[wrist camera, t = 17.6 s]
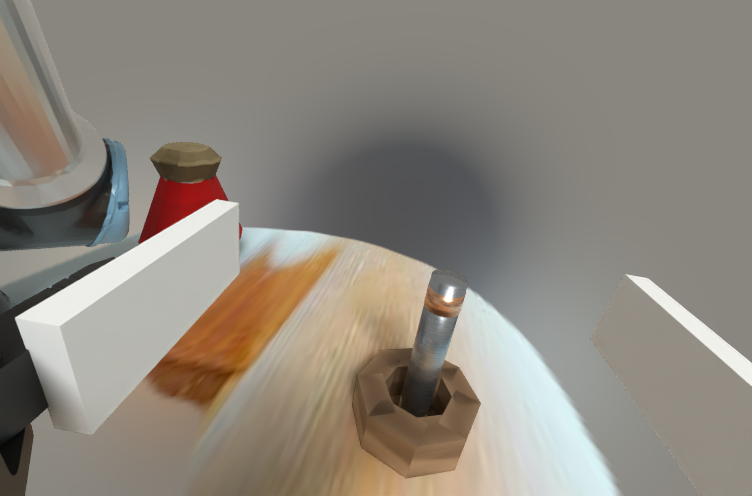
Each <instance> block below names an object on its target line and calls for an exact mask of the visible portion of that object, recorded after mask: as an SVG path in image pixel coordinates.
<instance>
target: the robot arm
mask: <svg viewBox="0 0 752 496" xmlns="http://www.w3.org/2000/svg"><path fill="white" fill-rule="evenodd" d="M128 202H129V186H128V170H127V159H126V151H125V149H124V146H123V145H122V144H121V143H119V142H117V141H111V140H109V139H106V138H101V136H100V134H99V133H98V131H97V130H96V129H95V128H94V127H93V126H92V125H91V124H90V123H89V122H88V121H86V120H85V119H84V118H83V117H81V116H79V115H78V114H76V113H74V112H73V111H72V109H71V107H70V104H69V101H68V99H67V96H66V94H65V91H64V89H63V86H62V83H61V80H60V78H59V75H58V73H57V70H56V67H55V64H54V62H53V60H52V57H51V54H50V51H49V49H48V46H47V43H46V41H45V38H44V35H43V33H42V30H41V28H40V25H39V22H38V20H37V17H36V14H35V12H34V9H33V7H32V4H31V1H30V0H0V251H11V250H25V249H40V248H54V247H69V246H82V245H85V246H87V247H92V246H95V245H97V244H104V243H113V242H118V241H121V240H122V239H124V238H125V237H126V236H127V234H128V231H129V204H128ZM239 273H240V264H239V204H238V203H233V202H229V201H223V200H218V199H216V200H214V201H213V202H211V203H209V204H208V205H206V206H204V207H203V208H201V209H199V210H197V211H196V212H194V213H192V214H191V215H189V216H187V217H185V218H184V219H182V220H180V221H179V222H177V223H175V224H174V225H172V226H170V227H168V228H167V229H165V230H163V231H162V232H160V233H158V234H157V235H155V236H153V237H151V238H150V239H148V240H146V241H145V242H143V243H141V244H139V245H138V246H136V247H134V248H133V249H131V250H129V251H128V252H126V253H124V254H122V255H121V256H119V257H117V258H114V257H112V258H109V259H106V260H103V261H100V262H97V263H94V264H91V265H88V266H86V267H84V268H83V269H81V270H79V271H77V272H76V273H74V274H72V275H70V276H69V278H68V279H66V278H65V279H63V280H61V281H59V282H58V283H56V284H54V285H52V288H47V289H45V290H43V291H41V292H40V293H38V294H36V295H34V296H33V297H31V298H29V299H27V300H25V301H24V302H22V303H20V304H18V305H16V306H15V307H13V304H12V302H11V300H10V299H9V297H8V296H7V295H6V294H4V293H3V292H2V291H0V496H25V491H26V484H27V477H28V470H29V464H30V457H31V450H32V443H33V430H32V426H31V424H30V423H31V422H32V421H33V420H34V419H35V418H36V417H38V416H39V415H40V414H41V413H42V412H43V411H44V410H45V409H46V408H48V411H49V413H50V416H51V419H52V422H53V425H54V427H55V428H56V429H62V430H67V431H73V432H77V433H82V434H88V435H93V434H94V433H95V431H96V430H97V429H98V428H99V427H100V426H101V425H102V424H103V423H104V422H105V421H106V419H107V418H108V417H109V416H110V415H111V414H112V413H113V412H114V411H115V410H116V408H117V407H118V406H119V405H120V404H121V403H122V402H123V401H124V400H125V398H127V396H128V395H129V394H130V393H131V392H132V391H133V390H134V389H135V388H136V387H137V385H138V384H139V383H140V382H141V381H142V380H143V379H144V378H145V377H146V376H147V374H148V373H149V372H150V371H151V370H152V369H153V368H154V367H155V366H156V365H157V363H158V362H159V361H160V360H161V359H162V358H163V357H164V356H165V355H166V354H167V353H168V351H169V350H170V349H171V348H172V347H173V346H174V345H175V344H176V343H177V342H178V340H179V339H180V338H181V337H182V336H183V335H184V334H185V333H186V332H187V331H188V329H189V328H190V327H191V326H192V325H193V324H194V323H195V322H196V321H197V320H198V318H199V317H200V316H201V315H202V314H203V313H204V312H205V311H206V310H207V309H208V307H209V306H210V305H211V304H212V303H213V302H214V301H215V300H216V299H217V298H218V297H219V295H220V294H221V293H222V292H223V291H224V290H225V289H226V288H227V287H228V286H229V284H230V283H231V282H232V281H233V280H234V279H235V278H236V277H237V276H238V275H239ZM590 339H591V341H592V342H593V343H594V345H595V346H596V348H597V349H598V351H599V352H600V354H601V355H602V356H603V358H604V359H605V361H606V362H607V364H608V365H609V366H610V368H611V369H612V371H613V372H614V374H615V375H616V376H617V378H618V379H619V381H620V382H621V383H622V385H623V386H624V388H625V389H626V391H627V392H628V393H629V395H630V396H631V397H632V399H633V400H634V402H635V403H636V405H637V406H638V407H639V408H640V410H641V412H642V413H643V415H644V416H645V417H646V419H647V420H648V421H649V423H650V424H651V426H652V427H653V429H654V430H655V432H656V433H657V434H658V436H659V437H660V439H661V440H662V442H663V443H664V444H665V446H666V447H667V449H668V450H669V451H670V453H671V454H672V456H673V457H674V458H675V460H676V461H677V463H678V464H679V466H680V467H681V468H682V470H683V471H684V473H685V474H686V476H687V477H688V478H689V480H690V481H691V482H692V484H693V485H694V487H695V488H696V490H697V491H698V493H699V494H700V495H701V496H752V363H751V362H750V361H748V360H747V359H746V358H745V357H744V356H742V355H741V354H740V353H739V352H737V351H736V350H735V349H734V348H732V347H731V346H730V345H729V344H727V343H726V342H725V341H724V340H723V339H721V338H720V337H719V336H718V335H716V334H715V333H714V332H713V331H712V330H710V329H709V328H708V327H707V326H706V325H704V324H703V323H702V322H701V321H699V320H698V319H697V318H696V317H694V316H693V315H692V314H691V313H689V312H688V311H687V310H686V309H685V308H683V307H682V306H681V305H680V304H679V303H677V302H676V301H675V300H674V299H672V298H671V297H670V296H669V295H668V294H666V293H665V292H664V291H663V290H661V289H660V288H659V287H658V286H657V285H655V284H654V283H653V282H652V281H650V280H649V279H648V278H643V277H637V276H631V275H626V274H625V275H624V277H623V279H622V281H621V283H620V285H619V286H618V288H617V290H616V292H615V293H614V295H613V297H612V299H611V301H610V303H609V304H608V306H607V308H606V310H605V312H604V314H603V315H602V317H601V319H600V321H599V323H598V325H597V327H596V329H595V330H594V332H593V334H592V336H591V338H590Z"/></svg>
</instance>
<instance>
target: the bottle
mask: <svg viewBox="0 0 752 496" xmlns="http://www.w3.org/2000/svg"><path fill="white" fill-rule="evenodd" d="M150 159H151V161H152V162H153V164H154V166H155V168H156V170H157V171H158V173H159V175H160V179H159V182H158V185H157V188H156V191H155V194H154V197H153V200H152V203H151V206H150V209H149V213H148V216H147V218H146V222H145V225H144V228H143V230H142V233H141V236H140V239H139V242H138V243H139V244H141V243H143V242H145V241H146V240H148V239H150V238H151V237H153V236H155V235H157V234H158V233H160V232H162V231H163V230H165V229H167V228H168V227H170V226H172V225H174V224H175V223H177V222H179V221H180V220H182V219H184V218H185V217H187V216H189V215H191V214H192V213H194V212H196V211H197V210H199V209H201V208H203V207H204V206H206V205H208V204H209V203H211V202H213V201H214V200H216V199H218V200H223V201H228V199H227V197H226V195H225V193H224V191H223V189H222V187H221V185H220V183H219V181H218V179H217V177H216V172H217V169H218V167H219V164H220V161H221V159H222V157H220V156H219V155H218V154H217V153H216V152H215V151H214V150H212V149H211V148H210V147H209V146H206V145H204V144H199V143H192V142H176V143H168V144H165V145H164V146H163V147H161V148H160V149H159V150H158V151H157V152H156V153H155V154H154V155H152V156H151V157H150ZM241 234H242V227H241V225H240V223H239V240H240V238H241Z"/></svg>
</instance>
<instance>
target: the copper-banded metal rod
mask: <svg viewBox="0 0 752 496" xmlns="http://www.w3.org/2000/svg"><path fill="white" fill-rule="evenodd" d="M467 286H468V280H467V279H466V278H465V277H464V276H463V275H461V274H460V273H458V272H455V271H452V270H447V269H438V270H435V271H433V272H432V275H431V279H430V282H429V285H428V289H427V293H426V297H425V300H424V307H423V311H422V315H421V318H420V322H419V326H418V330H417V334H416V338H415V342H414V346H413V350H412V354H411V358H410V362H409V366H408V370H407V373H406V377H405V381H404V385H403V389H402V393H401V397H400V401H399V405H398V407H400V408H402V409H403V410H405V411H407V412H408V413H410V414H412V415H413V416H415V417H417V418H419V417H427V415H428V412H429V408H430V405H431V402H432V399H433V396H434V392H435V389H436V386H437V383H438V379H439V376H440V373H441V370H442V366H443V363H444V360H445V357H446V354H447V350H448V347H449V344H450V341H451V337H452V334H453V331H454V328H455V324H456V321H457V318H458V315H459V313H460V310H461V307H462V304H463V301H464V297H465V294H466V289H467Z"/></svg>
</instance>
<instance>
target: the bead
mask: <svg viewBox="0 0 752 496" xmlns="http://www.w3.org/2000/svg"><path fill="white" fill-rule="evenodd" d="M412 350H413V348H408V349H391V350H380V352H379V353H378V354H377V355H376V356H375V357H374V358H373V359H372V360H371V361H370V362H369V363H368V365H367V366H366V367H365V368H364V369H363V370H362V371H361V372H360V373H359V374H358V375H357V381H356V386H355V392H354V398H353V404H352V407H353V411H354V416H355V420H356V425H357V429H358V434H359V438H360V443H361V448H363V449H364V450H366V451H367V452H368V453H370V454H371V455H373V456H374V457H376V458H377V459H379V460H380V461H382V462H383V463H385V464H386V465H387V466H389V467H390V468H392V469H393V470H395V471H396V472H398V473H399V474H401V475H402V476H404V477H405V478H411V477H417V476H423V475H429V474H435V473H440V472H446V471H452V470H455V467H456V465H457V462H458V460H459V457H460V455H461V452H462V450H463V447H464V445H465V442H466V440H467V437H468V434H469V432H470V430H471V427H472V425H473V422H474V419H475V417H476V414H477V412H478V409H479V407H480V404H481V403H480V401H479V400H478V398H477V396H476V395H475V393H474V391H473V390H472V388H471V386H470V385H469V383H468V381H467V380H466V378H465V376H464V375H463V373H462V371H461V370H460V368H459V367H457V366H455V365H453V364H451V363H449V362H447V361H445V360H444V363H443V366H442V370H441V373H440V376H439V379H438V383H437V386H436V389H435V392H434V396H433V399H432V402H431V405H432V406H433V408H434V410H435V412H436V414H437V415H436V416H427V417H419V418H417V417H415V416H413V415H412V414H410V413H408V412H407V411H405V410H403V409H402V408H400V407H398V406H397V405H395V404H393V403H392V400H391V397H390V396H394V395H401V393H402V389H403V385H404V381H405V377H406V373H407V370H408V366H409V362H410V358H411V354H412Z"/></svg>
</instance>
